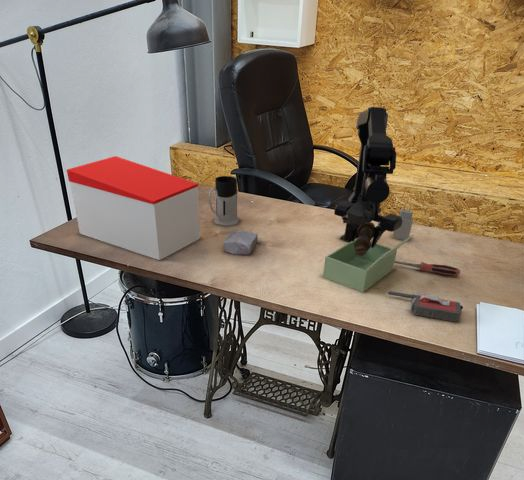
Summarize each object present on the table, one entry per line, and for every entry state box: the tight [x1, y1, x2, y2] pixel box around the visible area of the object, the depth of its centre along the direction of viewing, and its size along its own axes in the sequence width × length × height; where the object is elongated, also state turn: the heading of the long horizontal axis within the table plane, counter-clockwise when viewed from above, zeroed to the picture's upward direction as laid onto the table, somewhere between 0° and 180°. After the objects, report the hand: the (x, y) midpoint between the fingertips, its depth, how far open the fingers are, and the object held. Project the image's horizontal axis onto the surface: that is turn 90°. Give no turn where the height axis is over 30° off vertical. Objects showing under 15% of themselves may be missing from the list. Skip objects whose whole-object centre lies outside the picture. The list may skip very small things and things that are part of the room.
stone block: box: [222, 230, 259, 256], centre depth 154 cm, size 12×5×10 cm
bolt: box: [354, 221, 376, 256], centre depth 137 cm, size 6×5×15 cm
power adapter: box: [392, 203, 414, 241], centre depth 163 cm, size 3×5×12 cm, turn 62°
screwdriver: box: [394, 260, 461, 277], centre depth 146 cm, size 25×3×3 cm, turn 73°
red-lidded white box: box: [66, 155, 201, 261], centre depth 153 cm, size 21×35×21 cm, turn 59°
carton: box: [322, 239, 398, 293], centre depth 141 cm, size 19×14×6 cm
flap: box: [367, 234, 415, 269], centre depth 133 cm, size 19×7×1 cm
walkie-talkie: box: [386, 290, 464, 323], centre depth 126 cm, size 9×4×20 cm
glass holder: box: [208, 175, 239, 227], centre depth 167 cm, size 9×14×15 cm, turn 148°
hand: (362, 244), depth 138 cm, fingers closed on bolt, 6 cm apart
